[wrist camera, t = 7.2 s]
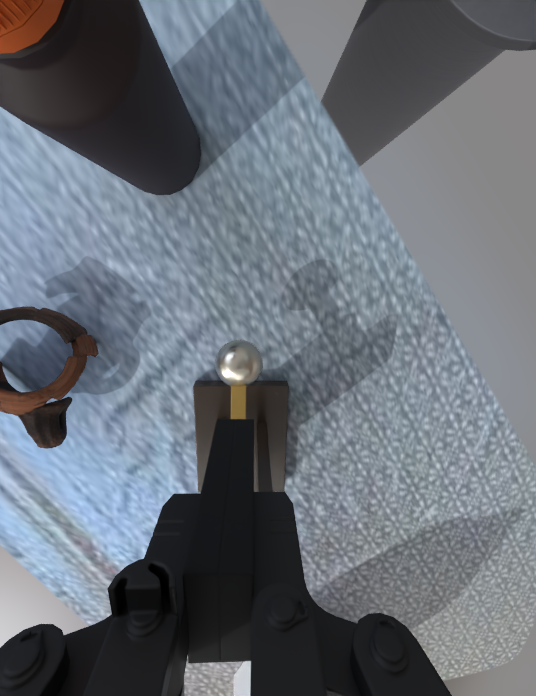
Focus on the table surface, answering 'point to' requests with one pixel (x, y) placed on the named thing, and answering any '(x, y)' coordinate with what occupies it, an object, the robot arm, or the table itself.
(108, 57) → the bottle
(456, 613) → the table surface
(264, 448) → the dark grey lever stand
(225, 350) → the tap lever
